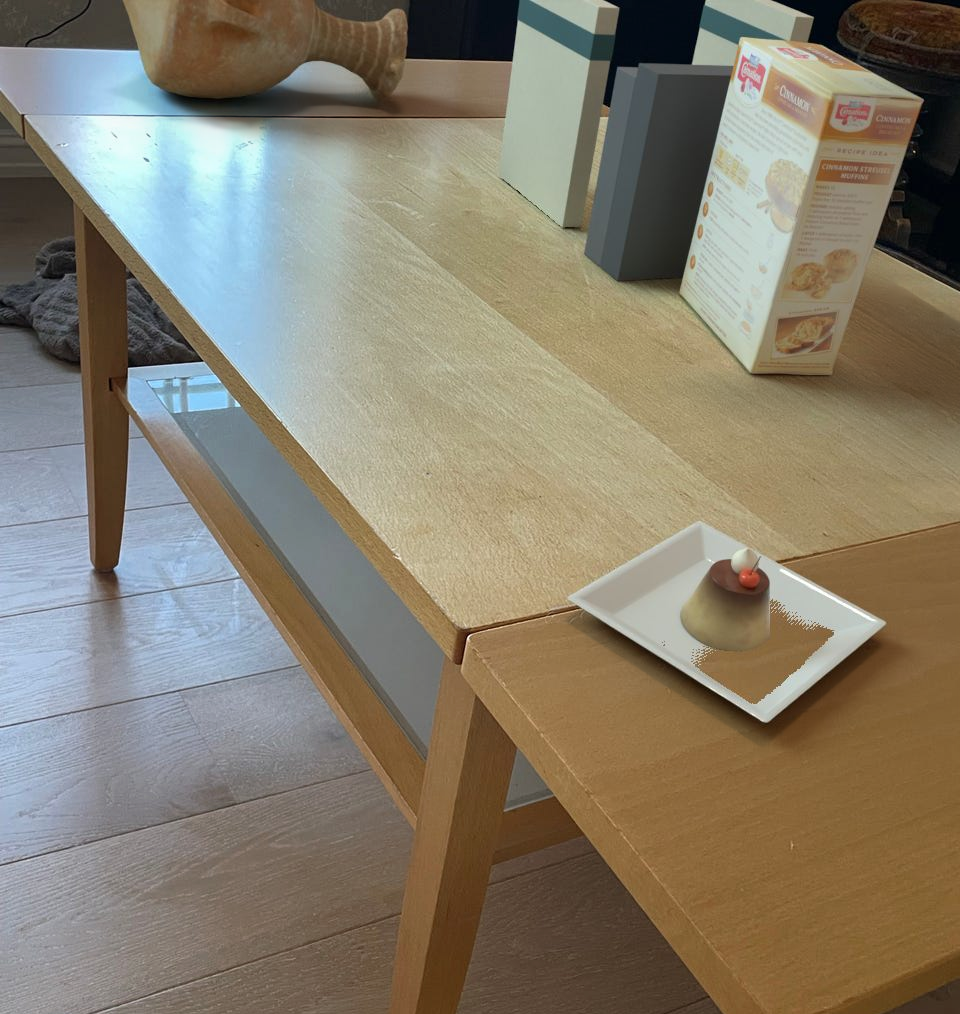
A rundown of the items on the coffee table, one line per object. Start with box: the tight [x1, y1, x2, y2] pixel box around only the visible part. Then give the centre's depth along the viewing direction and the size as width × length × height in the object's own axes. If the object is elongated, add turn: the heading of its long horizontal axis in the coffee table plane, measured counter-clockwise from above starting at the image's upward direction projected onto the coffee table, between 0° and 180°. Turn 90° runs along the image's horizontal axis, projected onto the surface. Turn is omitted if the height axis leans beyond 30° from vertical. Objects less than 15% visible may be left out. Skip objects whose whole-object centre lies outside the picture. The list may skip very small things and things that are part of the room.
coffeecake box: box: [678, 37, 925, 376], centre depth 85 cm, size 15×7×20 cm, turn 13°
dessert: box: [567, 520, 887, 724], centre depth 58 cm, size 12×12×5 cm
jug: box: [122, 0, 409, 103], centre depth 121 cm, size 20×19×30 cm
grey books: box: [583, 62, 734, 282], centre depth 96 cm, size 12×6×16 cm, turn 114°
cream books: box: [497, 0, 815, 229], centre depth 108 cm, size 22×14×18 cm, turn 114°
